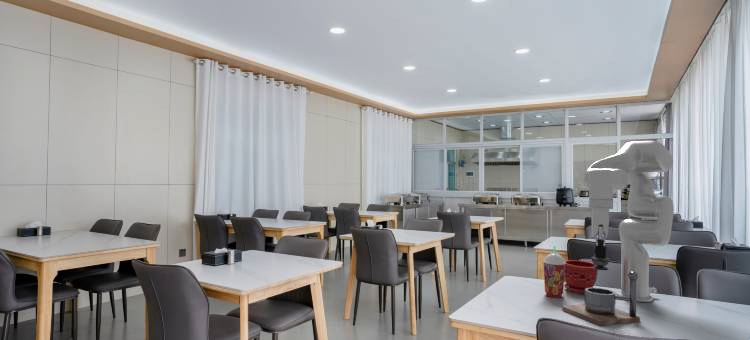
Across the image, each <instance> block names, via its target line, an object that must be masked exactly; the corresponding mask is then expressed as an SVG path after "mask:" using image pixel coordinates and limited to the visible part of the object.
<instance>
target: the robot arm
mask: <svg viewBox="0 0 750 340" xmlns="http://www.w3.org/2000/svg"><path fill="white" fill-rule="evenodd" d="M673 165H674V159H673V156H672V153H671V152H670V151H669V150H668V148H667V147H666V146H665V145H663V143H662V142H660V141H657V140H640V141H639V140H637V141H635V140H634V141H629V142H626V143H625V144H624V145H622V146H621V147H620V149H619V150H617V151H616V153H615V154H614V155H610V156H608V157H606V158H601V159H600V160H597V161H595V162H594V163H592V164H591V165H590V166H589V167H588V168H587V169H586V171H585V173H584V175H583V183H584V185H585V187H587V189H588V209H591V237H592V238H594V236H595V246H594V249H595V250H594V251H595V252H594V253H595V254H594V256H595V257H596V258H606V257H607V256H606V255H607V247H606V238H607V237H608V235H609V225H610V210H614V191H618V190H619V191H621V190H623V189H625V188H626V187H627V186H628V184H629V183H630V184H629V185H630V186H629V187H630V188H629V193H628V197H627V198H628V199H627V205H626V210H627V213H628V214H629V216H630V217H634V218H626V219H624V220H622V221H621V222H620V223H619V225H618V234H619V238H620V239H619V240H620V248H621V249H620V250H621V253H620V254H621V255H620V256H621V260H620V261H621V263H620V265H621V266H620V269H621V271H620V290H619V291H616V295H618V296H626V297H630V279H629V277H628V273H629V272H631V271H634V272H636V273H637V274H638V279H637V287H636V303H637V302H640V303H649V302H650V303H651V302H653V301H654V297H653V296H652V295H651V294H653V293H654V294H655V293H657V291H658V289H657V288H656V287H651V286H649V285H650V284H649V283H650V281H649V280H650V279H649V277H650V275H649V274H650V269H649V267H650V256H649V253H648V250H647V249H646V248H645V247H644V245H649V246H650V245H652V246H659V247H660V246H661V247H663V246H667V245H668V244H669V243H670V239H671V236H672V228H673V222H674V220H673V219H674V215H675V213H674V211H675V206H674V202H673V200H672V198H671V197H669V196H667V195H663V194H662V195H661V194H655V192H654V191H655V183H654V181H653V180H652V179H651V177H649V175H647V174H646V173H666V172H669V171H670V170H671V169H672V168H673ZM638 218H640V219H638ZM641 218H642V219H641ZM654 219H655V220H654Z"/></svg>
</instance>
